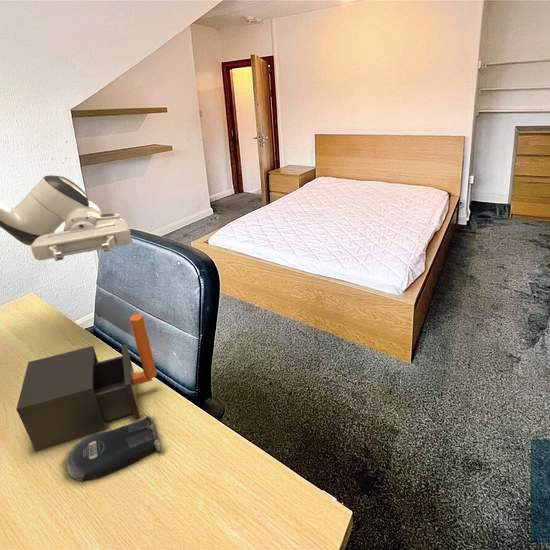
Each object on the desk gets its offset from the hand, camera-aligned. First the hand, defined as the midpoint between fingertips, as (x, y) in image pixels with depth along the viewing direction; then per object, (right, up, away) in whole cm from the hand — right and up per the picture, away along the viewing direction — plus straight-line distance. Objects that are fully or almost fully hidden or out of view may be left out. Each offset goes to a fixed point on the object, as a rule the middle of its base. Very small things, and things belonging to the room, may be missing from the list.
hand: (82, 252), depth 85 cm
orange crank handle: (+8, -30, -2) cm, 31 cm away
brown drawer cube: (0, -33, -4) cm, 33 cm away
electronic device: (+12, -37, -12) cm, 40 cm away
